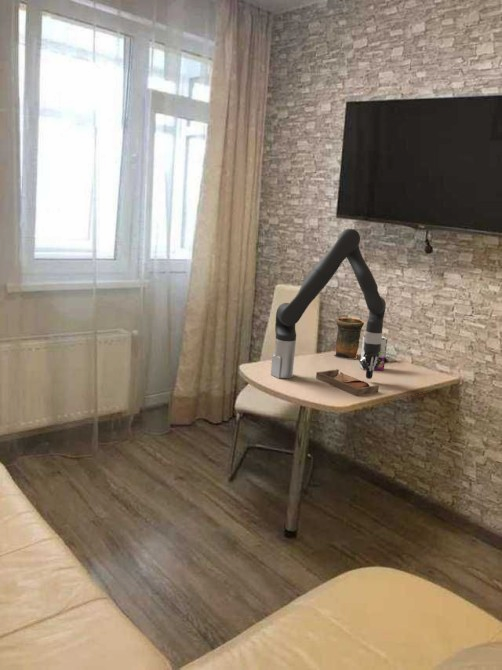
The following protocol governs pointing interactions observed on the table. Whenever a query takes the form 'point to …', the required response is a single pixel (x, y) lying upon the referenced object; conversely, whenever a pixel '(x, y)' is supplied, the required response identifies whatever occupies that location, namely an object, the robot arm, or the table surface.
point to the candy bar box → (381, 354)
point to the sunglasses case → (351, 381)
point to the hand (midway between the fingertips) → (368, 378)
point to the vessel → (348, 337)
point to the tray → (326, 378)
